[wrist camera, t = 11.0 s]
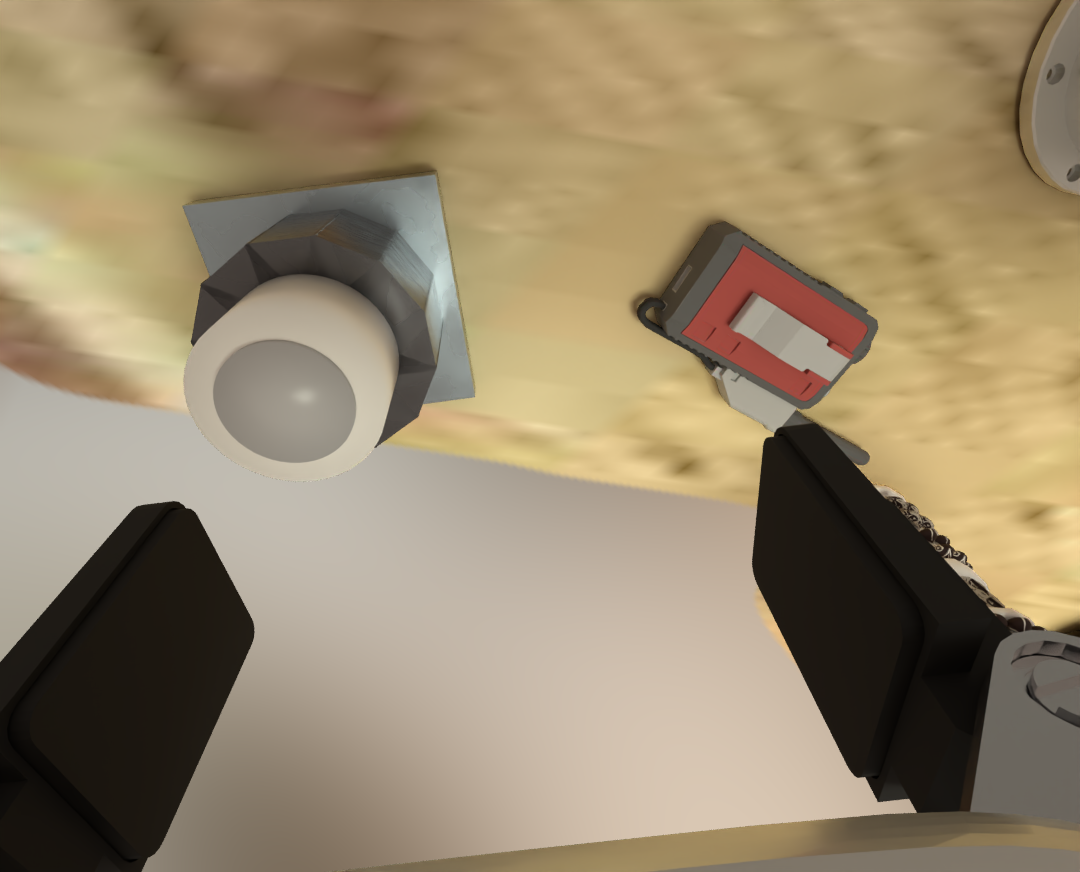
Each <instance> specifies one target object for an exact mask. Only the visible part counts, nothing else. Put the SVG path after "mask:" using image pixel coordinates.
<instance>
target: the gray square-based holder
mask: <svg viewBox="0 0 1080 872" xmlns="http://www.w3.org/2000/svg"><path fill="white" fill-rule="evenodd" d="M183 209H184V211H185V214H186V216H187V219H188V221H189V224H190V226H191V229H192V232H193V234H194V237H195V239H196V242H197V244H198V247H199V249H200V252H201V255H202V257H203V260H204V262H205V265H206V267H207V270H208V272H209V275H210V277H209V278H208V279H207V280H205V281H204V282H203V283H201V285H200V286H201V288H200V294H199V300H198V306H197V311H196V317H195V323H194V329H193V334H192V340H191V344H192V345H193V347H194V345H195V344H196V342H197V341H198V339H199V338H200V337H201V336H202V335H203V334H204V333H205V332H206V331H207V330H208V329H209V328H210V327H212V326H213V325H214V324H215V323H216V322H217V321H218V320H219V319H220V318H221V317H223V316H224V315H225V314H226V313H227V312H228V311H229V310H230V309H231V308H232V307H234V306H235V305H236V304H237V303H238V302H239V301H240V300H241V299H242V298H244V297H245V296H246V295H247V294H248V293H249V292H250V291H252V290H253V289H254V288H256V287H257V286H258V285H260V284H262V283H264V282H266V281H268V280H271V279H274V278H277V277H281V276H286V275H293V274H309V275H317V276H322V277H327V278H330V279H333V280H336V281H339V282H341V283H343V284H345V285H348V286H349V287H351V288H353V289H354V290H356V291H358V292H359V293H361V294H362V295H363V296H365V297H366V298H367V299H368V300H369V301H370V302H371V303H373V304H374V305H375V306H376V307H377V309H378V310H379V311H380V312H381V313H382V315H383V316H384V317H385V319H386V321H387V322H388V324H389V325H390V327H391V330H392V332H393V334H394V336H395V339H396V343H397V346H398V352H399V371H398V377H397V380H396V384H395V388H394V391H393V395H392V398H391V402H390V406H389V409H388V413H387V417H386V420H385V424H384V428H383V431H382V434H381V436H380V438H379V441H378V443H377V444H376V446H375V447H374V448H376V447H377V446H378V445H380V444H381V443H382V442H384V441H385V440H387V439H388V438H389V437H391V436H392V435H393V434H395V433H396V432H398V431H399V430H400V429H402V428H403V427H404V426H406V425H407V424H409V423H410V422H411V421H413V420H414V419H416V418H417V417H418V416H419V412H420V410H421V407H422V405H423V404H427V403H435V402H442V401H450V400H457V399H464V398H472V397H475V382H474V377H473V371H472V365H471V360H470V354H469V348H468V343H467V337H466V331H465V326H464V320H463V314H462V309H461V303H460V298H459V292H458V286H457V281H456V275H455V269H454V264H453V258H452V252H451V247H450V241H449V235H448V230H447V224H446V219H445V213H444V207H443V202H442V196H441V190H440V185H439V179H438V173H437V171H430V172H422V173H414V174H406V175H398V176H390V177H382V178H374V179H366V180H358V181H350V182H342V183H334V184H325V185H317V186H309V187H301V188H293V189H285V190H277V191H269V192H261V193H253V194H245V195H237V196H229V197H220V198H212V199H204V200H196V201H193V202H191V203H188V204H186V205H183Z"/></svg>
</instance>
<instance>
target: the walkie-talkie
mask: <svg viewBox="0 0 1080 872" xmlns="http://www.w3.org/2000/svg"><path fill="white" fill-rule="evenodd" d="M651 307H654V308H655V313H656V318H657V322H658V323H659V325H660V326H661V327H660V326H659V325H657V324H655V323H653V322H651V321H650V320H649V319H647V318H646V316H645V313H646V311H647V310H648V309H649V308H651ZM867 311H868V310H867V309H865V308H864V307H862V306H861V305H859V304H858V303H856V302H854V301H853V300H851V299H849V298H847V299H845V298H843V293H841V292H840V291H838V290H837V289H835V288H834V287H832V286H830V285H829V284H827V283H825V282H824V281H823V282H822V283H820V282H818V281H817V280H815V279H813V278H812V277H810V276H809V275H808V274H806V273H804V272H803V271H802V270H800V269H798V268H796V266H794V265H792V264H791V263H789V262H788V261H786V260H785V259H783V258H781V257H780V256H779V255H777V254H775V253H774V252H773V251H771V250H770V249H768V248H766V247H765V246H764V245H762V244H760V243H758V241H756V240H754V239H753V238H751V237H750V236H748V235H747V234H745V233H743V232H742V231H741V230H739V229H738V228H736V227H734V226H732V225H730V224H729V223H727V222H722V223H718V224H714V225H710V226H708V228H707V229H706V231H705V232H704V234H703V235H702V237H701V238H700V240H699V241H698V243H697V244H696V246H695V247H694V249H693V250H692V252H691V253H690V255H689V256H688V258H687V259H686V261H685V262H684V264H683V265H682V267H681V268H680V270H679V271H678V273H677V274H676V276H675V277H674V279H673V280H672V282H671V283H670V285H669V286H668V288H667V289H666V291H665V292H664V294H663V295H662V297H661V298H660V300H659V299H657V298H648V299H645V300H644V301H643V302H642V303H641V304H640V305H639V307H638V310H637V316H638V318H639V320H640V321H641V323H642V324H643V325H644V326H645V327H646V328H648V329H650V330H652V331H653V332H655V333H657V334H659V335H661V336H663V337H664V338H666V339H668V340H670V341H672V342H673V343H675V344H677V345H679V346H681V347H683V348H684V349H686V350H688V351H690V352H691V353H693V354H695V355H696V356H698V357H700V358H701V360H702V362H703V363H704V364H705V366H706V367H705V368H706V369H707V370H708V372H709V373H710V374H711V375H712V376H714V377H715V379H716V382H717V385H718V389H719V392H720V394H721V396H722V397H723V398H724V400H725V401H726V402H727V404H728V405H729V406H730V407H731V408H733V409H735V410H737V411H739V412H741V413H743V414H744V415H746V416H748V417H750V418H752V419H754V420H756V421H758V422H759V423H761V424H762V425H763V426H764V427H765V428H766V429H768V430H770V431H772V432H774V433H775V431H776V429H777V428H779V427H784V426H792V425H800V424H808V423H814V422H812V421H810V420H808V419H806V418H805V417H803V416H802V414H801V413H800V412H798V411H796V409H797V408H799V409H809V408H811V407H812V406H814V405H815V404H817V403H818V402H819V401H820V400H821V399H822V398H823V397H825V396H826V395H827V394H828V393H829V392H830V389H831V388H832V387H833V385H834V384H835V383H836V382H837V381H838V380H839V378H840V377H841V376H842V375H843V374H844V373H845V371H846V370H847V369H848V368H849V367H850V366H851V365H852V364H856V363H857V362H859V361H861V360H862V359H863V358H864V357H865V356H866V355H867V353H868V352H869V350H870V347H871V341H872V340H873V338H874V336H875V334H876V332H877V330H878V323H877V320H876V319H874V318H873V317H871V316H870V315H868V314H867V313H866V312H867ZM708 357H710V358H711V360H709V358H708ZM820 427H821V426H820ZM821 428H822V429H823V430H824V431H825V432H826V433H827V434H828V436H829V437H830V438H831V439H832V440H833V441H834V442H835V443H836V444H837V446H838V447H839V448H840V449H841V450H842V451H843V452H844V453H845V454H846V456H847V457H848V458H849V459H850V460H851V461H852V462H854V463H856V464H858V465H865V464H867V463H868V461H869V459H870V456H869V454H868V453H867V452H866V451H864V450H862V449H861V448H859V447H857V446H855V445H853V444H852V443H850V442H848V441H846V440H844V439H842V438H841V437H839V436H837V435H835V434H833V433H832V432H830V431H828V430H826V429H824V428H823V427H821Z"/></svg>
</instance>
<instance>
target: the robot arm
mask: <svg viewBox="0 0 1080 872" xmlns="http://www.w3.org/2000/svg"><path fill="white" fill-rule="evenodd" d="M1019 116H1020V136H1021V140H1022V145H1023V149H1024V153H1025V155H1026V157H1027V159H1028V161H1029V163H1030V165H1031V167H1032V169H1033V170H1034V171H1035V172H1036V173H1037V175H1038V176H1039V177H1040V178H1041V179H1042V180H1043V181H1044V182H1045V183H1047V184H1049V185H1051V186H1052V187H1054V188H1056V189H1058V190H1060V191H1062V192H1067V193H1071V194H1076V195H1080V0H1061V2H1060V3H1059V5H1058V7H1057V8H1056V10H1055V12H1054V13H1053V15H1052V16H1051V18H1050V20H1049V21H1048V23H1047V25H1046V26H1045V28H1044V31H1043V33H1042V35H1041V37H1040V39H1039V41H1038V44H1037V46H1036V48H1035V50H1034V52H1033V54H1032V57H1031V61H1030V64H1029V67H1028V70H1027V73H1026V77H1025V80H1024V83H1023V89H1022V96H1021V102H1020V109H1019ZM752 567H753V573H754V577H755V580H756V582H757V585H758V587H759V589H760V591H761V593H762V595H763V597H764V599H765V601H766V603H767V605H768V607H769V609H770V611H771V613H772V615H773V617H774V619H775V621H776V623H777V625H778V627H779V629H780V631H781V633H782V635H783V637H784V639H785V641H786V643H787V645H788V647H789V649H790V651H791V653H792V655H793V657H794V659H795V661H796V663H797V665H798V667H799V669H800V671H801V673H802V675H803V677H804V680H805V682H806V684H807V686H808V688H809V690H810V692H811V693H812V696H813V698H814V700H815V702H816V704H817V706H818V708H819V710H820V712H821V714H822V716H823V718H824V720H825V722H826V724H827V726H828V728H829V730H830V732H831V734H832V736H833V738H834V740H835V742H836V744H837V746H838V748H839V750H840V752H841V754H842V756H843V758H844V760H845V762H846V764H847V766H848V768H849V769H850V771H851V772H852V773H853V774H854V776H856V777H857V778H860V777H866V779H867V781H868V783H869V785H870V787H871V789H872V791H873V793H874V795H875V797H876V799H877V801H878V802H883V801H891V800H900V799H910V801H911V803H912V804H913V806H914V808H915V810H916V812H917V813H904V814H883V815H871V816H860V817H848V818H838V819H825V820H814V821H803V822H792V823H780V824H768V825H757V826H745V827H736V828H727V829H719V830H718V829H717V830H709V831H698V832H689V833H679V834H670V835H661V836H651V837H642V838H632V839H623V840H613V841H604V842H594V843H585V844H575V845H567V846H556V847H548V848H538V849H529V850H520V851H511V852H501V853H493V854H484V855H475V856H466V857H456V858H448V859H438V860H429V861H420V862H411V863H403V864H393V865H384V866H376V867H367V868H357V869H348V870H340V871H331V872H1080V638H1079V637H1075V636H1071V635H1067V634H1063V633H1059V632H1055V631H1041V630H1029V631H1023V632H1018V633H1013V634H1012V633H1011V632H1010V631H1009V630H1008V628H1007V627H1006V626H1005V625H1004V624H1003V623H1002V622H1001V621H1000V620H999V619H998V617H997V616H996V615H995V614H994V613H993V612H992V611H991V610H990V609H989V608H988V606H987V605H986V604H985V603H984V602H983V601H982V600H981V599H980V598H979V597H978V596H977V594H976V593H975V592H974V591H973V590H972V589H971V588H970V587H969V586H968V585H967V583H966V582H965V581H964V580H963V579H962V578H961V577H960V576H959V575H958V574H957V572H956V571H955V570H954V569H953V568H952V567H951V566H950V565H949V564H948V563H947V561H946V560H945V559H944V558H943V557H942V556H941V555H940V554H939V553H938V552H937V551H936V549H935V548H934V547H933V546H932V545H931V544H930V543H929V542H928V541H927V540H926V538H925V537H924V536H923V535H922V534H921V533H920V532H919V531H918V530H917V529H916V527H915V526H914V525H913V524H912V523H911V522H910V521H909V520H908V519H907V518H906V516H905V515H904V514H903V513H902V512H901V511H900V510H899V509H898V508H897V507H896V506H895V505H894V504H893V503H892V502H891V501H889V500H888V499H885V498H884V497H883V495H882V494H881V493H880V492H879V491H878V490H877V489H876V488H875V487H874V485H873V484H872V483H871V482H870V481H869V480H868V479H867V478H866V477H865V476H864V474H863V473H862V472H861V471H860V470H859V469H858V468H857V467H856V466H855V464H854V463H853V462H852V461H851V460H850V459H849V458H848V457H847V456H846V454H845V453H844V452H843V451H842V450H841V449H840V448H839V447H838V446H837V444H836V443H835V442H834V441H833V440H832V439H831V438H830V437H829V436H828V434H827V433H826V432H825V431H824V430H823V429H822V428H821V427H820V426H819V425H818V424H816V423H808V424H800V425H792V426H784V427H779V428H777V429H776V431H775V433H774V437H768V438H766V439H765V441H764V445H763V454H762V465H761V475H760V485H759V496H758V506H757V517H756V526H755V537H754V547H753V558H752ZM253 639H254V624H253V621H252V618H251V616H250V614H249V613H248V611H247V609H246V607H245V605H244V603H243V601H242V599H241V597H240V595H239V594H238V592H237V590H236V588H235V586H234V584H233V582H232V580H231V578H230V577H229V575H228V573H227V571H226V569H225V567H224V565H223V563H222V562H221V560H220V558H219V556H218V554H217V552H216V550H215V548H214V546H213V544H212V543H211V541H210V539H209V537H208V535H207V533H206V531H205V529H204V527H203V526H202V524H201V522H200V520H199V518H198V516H197V515H196V513H195V512H194V511H193V510H191V509H186V508H185V506H184V505H182V504H181V503H180V502H175V501H172V502H163V503H155V504H147V505H141V506H137V507H136V508H134V509H133V510H132V511H131V512H130V513H129V514H128V515H127V516H126V518H125V519H124V520H123V521H122V522H121V523H120V525H119V526H118V527H117V528H116V529H115V530H114V531H113V533H112V534H111V535H110V536H109V538H107V540H106V541H105V542H104V543H103V544H102V545H101V547H100V548H99V549H98V550H97V551H96V552H95V553H94V555H93V556H92V557H91V558H90V559H89V560H88V562H87V563H86V564H85V565H84V566H83V567H82V569H81V570H80V571H79V572H78V573H77V574H76V575H75V577H74V578H73V579H72V580H71V581H70V582H69V584H68V585H67V586H66V587H65V588H64V589H63V590H62V592H61V593H60V594H59V595H58V596H57V597H56V598H55V600H54V601H53V602H52V603H51V604H50V605H49V607H48V608H47V609H46V610H45V611H44V612H43V614H42V615H41V616H40V617H39V618H38V619H37V620H36V622H35V623H34V624H33V625H32V626H31V627H30V629H29V630H28V631H27V632H26V633H25V634H24V635H23V637H22V638H21V639H20V640H19V641H18V642H17V643H16V645H15V646H14V647H13V648H12V649H11V650H10V652H9V653H8V654H7V655H6V656H5V657H4V659H3V660H2V661H1V662H0V872H141V871H142V869H143V867H144V865H145V863H146V861H147V858H148V857H150V856H152V855H154V854H155V853H156V851H157V850H158V849H159V848H160V846H161V844H162V842H163V840H164V838H165V836H166V834H167V832H168V829H169V827H170V825H171V823H172V820H173V818H174V816H175V814H176V812H177V809H178V807H179V805H180V803H181V800H182V798H183V796H184V794H185V792H186V789H187V787H188V785H189V783H190V780H191V778H192V776H193V774H194V771H195V769H196V767H197V765H198V763H199V760H200V758H201V756H202V754H203V751H204V749H205V747H206V745H207V742H208V740H209V738H210V736H211V734H212V731H213V729H214V727H215V725H216V723H217V720H218V718H219V716H220V713H221V711H222V709H223V707H224V705H225V703H226V700H227V698H228V696H229V694H230V691H231V689H232V687H233V685H234V682H235V680H236V678H237V676H238V674H239V671H240V669H241V667H242V665H243V662H244V660H245V658H246V656H247V654H248V651H249V649H250V647H251V645H252V642H253Z"/></svg>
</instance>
